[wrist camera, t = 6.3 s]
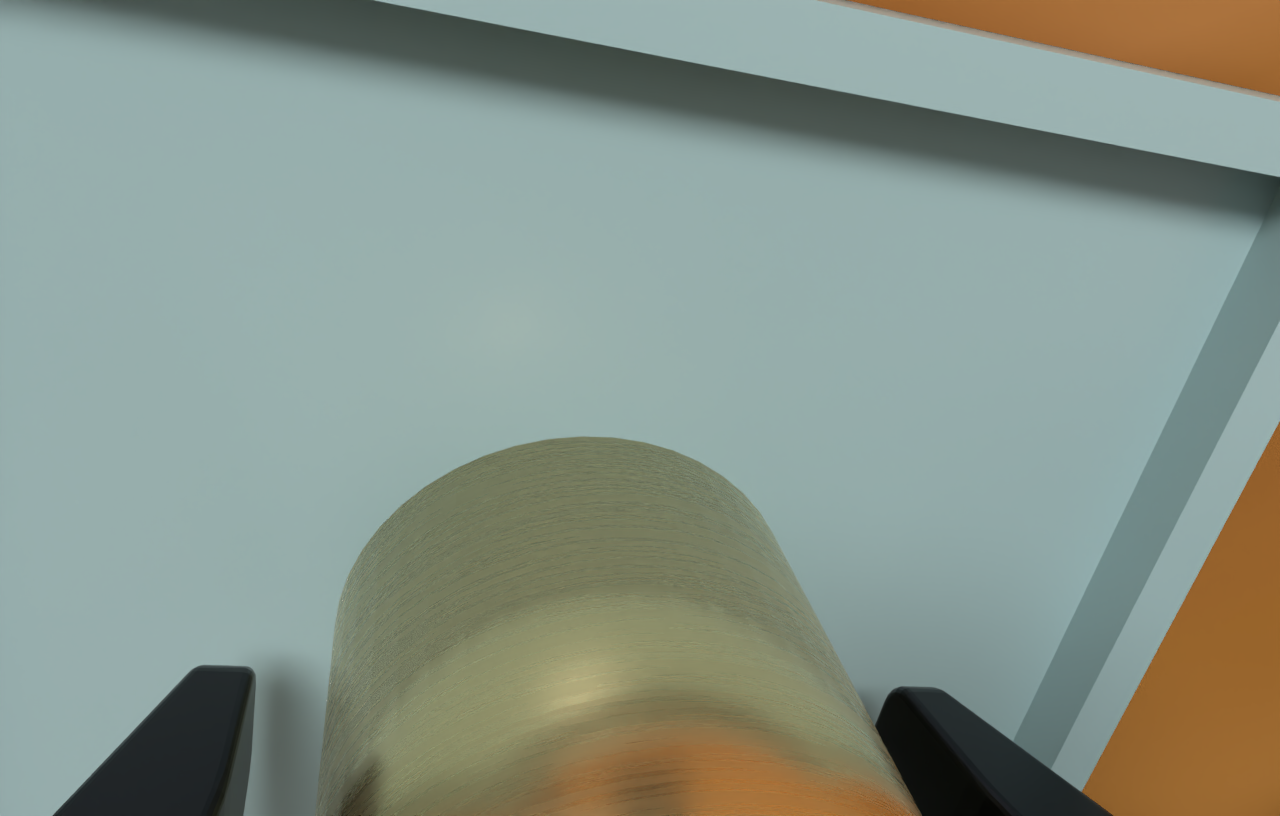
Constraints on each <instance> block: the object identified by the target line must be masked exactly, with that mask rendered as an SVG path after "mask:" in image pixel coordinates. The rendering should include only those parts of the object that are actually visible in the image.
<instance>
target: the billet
mask: <svg viewBox="0 0 1280 816" xmlns="http://www.w3.org/2000/svg"><path fill="white" fill-rule="evenodd" d="M315 816H922V815H921V813H920V811H919V809H918V807H917V805H916V803H915V801H914V799H913V798H912V796H911V794H910V792H909V790H908V788H907V786H906V784H905V782H904V781H903V779H902V777H901V775H900V773H899V771H898V769H897V767H896V765H895V763H894V762H893V760H892V758H891V756H890V754H889V752H888V750H887V748H886V746H885V745H884V743H883V741H882V739H881V737H880V735H879V733H878V731H877V729H876V728H875V726H874V724H873V722H872V720H871V718H870V716H869V714H868V712H867V710H866V709H865V707H864V705H863V703H862V701H861V699H860V697H859V695H858V693H857V692H856V690H855V688H854V686H853V684H852V682H851V680H850V678H849V676H848V674H847V673H846V671H845V669H844V667H843V665H842V663H841V661H840V659H839V657H838V656H837V654H836V652H835V650H834V648H833V646H832V644H831V642H830V640H829V639H828V637H827V635H826V633H825V631H824V629H823V627H822V625H821V623H820V621H819V620H818V618H817V616H816V614H815V612H814V610H813V608H812V606H811V604H810V603H809V601H808V599H807V597H806V595H805V593H804V591H803V589H802V587H801V586H800V584H799V582H798V580H797V578H796V576H795V574H794V572H793V570H792V568H791V567H790V565H789V563H788V561H787V559H786V557H785V555H784V553H783V551H782V550H781V548H780V546H779V544H778V542H777V540H776V538H775V536H774V534H773V533H772V531H771V529H770V528H769V526H768V524H767V523H766V521H765V520H764V518H763V516H762V515H761V513H760V512H759V510H758V509H757V508H756V507H755V506H754V505H753V504H752V502H751V501H750V500H749V499H748V498H747V497H746V496H745V494H744V493H743V492H741V491H740V490H739V489H738V488H737V487H735V486H734V485H733V484H732V483H731V482H730V481H728V480H727V479H726V478H725V477H724V476H722V475H720V474H719V473H717V472H715V471H714V470H712V469H711V468H709V467H707V466H706V465H704V464H702V463H701V462H699V461H696V460H694V459H692V458H690V457H687V456H685V455H683V454H680V453H678V452H676V451H673V450H670V449H666V448H663V447H659V446H656V445H652V444H649V443H645V442H639V441H633V440H626V439H620V438H613V437H583V436H581V437H569V438H556V439H547V440H542V441H537V442H532V443H527V444H521V445H516V446H513V447H510V448H507V449H504V450H501V451H497V452H494V453H491V454H488V455H485V456H482V457H480V458H478V459H476V460H473V461H471V462H469V463H467V464H465V465H462V466H460V467H458V468H456V469H454V470H452V471H450V472H448V473H447V474H445V475H443V476H442V477H440V478H438V479H437V480H435V481H433V482H432V483H430V484H428V485H427V486H425V487H424V488H423V489H421V490H420V491H419V492H418V493H416V494H415V495H414V496H412V497H411V498H410V499H409V500H407V501H406V502H405V503H403V504H402V505H401V506H400V507H399V508H398V509H397V510H396V511H395V512H394V513H393V514H392V515H391V516H390V517H389V518H388V519H387V520H386V521H385V522H384V523H383V524H382V525H381V526H380V527H379V528H378V530H377V531H376V532H375V534H374V535H373V536H372V538H371V539H370V540H369V542H368V543H367V544H366V546H365V547H364V548H363V549H362V551H361V553H360V555H359V557H358V558H357V560H356V562H355V564H354V566H353V567H352V569H351V571H350V573H349V575H348V578H347V580H346V583H345V586H344V589H343V591H342V594H341V597H340V600H339V605H338V610H337V616H336V621H335V628H334V637H333V647H332V656H331V666H330V676H329V685H328V695H327V704H326V714H325V723H324V733H323V742H322V752H321V762H320V771H319V781H318V790H317V800H316V809H315Z"/></svg>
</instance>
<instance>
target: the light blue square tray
mask: <svg viewBox="0 0 1280 816" xmlns="http://www.w3.org/2000/svg"><path fill="white" fill-rule="evenodd" d="M1279 421H1280V96H1278V95H1273V94H1269V93H1264V92H1259V91H1255V90H1250V89H1246V88H1241V87H1237V86H1232V85H1228V84H1223V83H1219V82H1214V81H1210V80H1205V79H1201V78H1196V77H1191V76H1187V75H1182V74H1178V73H1173V72H1169V71H1164V70H1160V69H1155V68H1151V67H1146V66H1142V65H1137V64H1133V63H1128V62H1123V61H1119V60H1114V59H1110V58H1105V57H1101V56H1096V55H1092V54H1087V53H1083V52H1078V51H1074V50H1069V49H1065V48H1060V47H1055V46H1051V45H1046V44H1042V43H1037V42H1033V41H1028V40H1024V39H1019V38H1015V37H1010V36H1006V35H1001V34H997V33H992V32H987V31H983V30H978V29H974V28H969V27H965V26H960V25H956V24H951V23H947V22H942V21H938V20H933V19H929V18H924V17H919V16H915V15H910V14H906V13H901V12H897V11H892V10H888V9H883V8H879V7H874V6H870V5H865V4H861V3H856V2H851V1H847V0H0V816H52V815H53V814H54V813H55V812H56V811H57V810H58V809H59V808H60V807H61V806H62V805H63V804H64V803H65V802H66V801H67V800H68V799H69V798H70V797H71V795H72V794H73V793H74V792H75V791H76V790H77V789H78V788H79V787H80V786H81V785H82V784H83V783H84V782H85V781H86V780H87V779H88V778H89V777H90V776H91V774H92V773H93V772H94V771H95V770H96V769H97V768H98V767H99V766H100V765H101V764H102V763H103V762H104V761H105V760H106V759H107V758H108V757H109V756H110V754H111V753H112V752H113V751H114V750H115V749H116V748H117V747H118V746H119V745H120V744H121V743H122V742H123V741H124V740H125V739H126V738H127V737H128V736H129V735H130V733H131V732H132V731H133V730H134V729H135V728H136V727H137V726H138V725H139V724H140V723H141V722H142V721H143V720H144V719H145V718H146V717H147V716H148V715H149V713H150V712H151V711H152V710H153V709H154V708H155V707H156V706H157V705H158V704H159V703H160V702H161V701H162V700H163V699H164V698H165V697H166V696H167V695H168V694H169V692H170V691H171V690H172V689H173V688H174V687H175V686H176V685H177V684H178V683H179V682H180V681H181V680H182V679H183V678H184V677H185V676H186V675H187V674H188V673H189V672H190V671H191V670H192V669H193V668H195V667H197V666H200V665H231V666H248V667H250V668H252V669H253V671H254V672H255V675H256V690H255V707H254V723H253V740H252V755H251V765H250V773H249V781H248V788H247V794H246V801H245V808H244V814H243V816H315V809H316V800H317V790H318V781H319V771H320V762H321V752H322V742H323V733H324V723H325V714H326V704H327V695H328V685H329V676H330V666H331V656H332V647H333V637H334V628H335V621H336V616H337V610H338V605H339V600H340V597H341V594H342V591H343V589H344V586H345V583H346V580H347V578H348V575H349V573H350V571H351V569H352V567H353V566H354V564H355V562H356V560H357V558H358V557H359V555H360V553H361V551H362V549H363V548H364V547H365V546H366V544H367V543H368V542H369V540H370V539H371V538H372V536H373V535H374V534H375V532H376V531H377V530H378V528H379V527H380V526H381V525H382V524H383V523H384V522H385V521H386V520H387V519H388V518H389V517H390V516H391V515H392V514H393V513H394V512H395V511H396V510H397V509H398V508H399V507H400V506H401V505H402V504H403V503H405V502H406V501H407V500H409V499H410V498H411V497H412V496H414V495H415V494H416V493H418V492H419V491H420V490H421V489H423V488H424V487H425V486H427V485H428V484H430V483H432V482H433V481H435V480H437V479H438V478H440V477H442V476H443V475H445V474H447V473H448V472H450V471H452V470H454V469H456V468H458V467H460V466H462V465H465V464H467V463H469V462H471V461H473V460H476V459H478V458H480V457H482V456H485V455H488V454H491V453H494V452H497V451H501V450H504V449H507V448H510V447H513V446H516V445H521V444H527V443H532V442H537V441H542V440H547V439H556V438H569V437H581V436H583V437H613V438H620V439H626V440H633V441H639V442H645V443H649V444H652V445H656V446H659V447H663V448H666V449H670V450H673V451H676V452H678V453H680V454H683V455H685V456H687V457H690V458H692V459H694V460H696V461H699V462H701V463H702V464H704V465H706V466H707V467H709V468H711V469H712V470H714V471H715V472H717V473H719V474H720V475H722V476H724V477H725V478H726V479H727V480H728V481H730V482H731V483H732V484H733V485H734V486H735V487H737V488H738V489H739V490H740V491H741V492H743V493H744V494H745V496H746V497H747V498H748V499H749V500H750V501H751V502H752V504H753V505H754V506H755V507H756V508H757V509H758V510H759V512H760V513H761V515H762V516H763V518H764V520H765V521H766V523H767V524H768V526H769V528H770V529H771V531H772V533H773V534H774V536H775V538H776V540H777V542H778V544H779V546H780V548H781V550H782V551H783V553H784V555H785V557H786V559H787V561H788V563H789V565H790V567H791V568H792V570H793V572H794V574H795V576H796V578H797V580H798V582H799V584H800V586H801V587H802V589H803V591H804V593H805V595H806V597H807V599H808V601H809V603H810V604H811V606H812V608H813V610H814V612H815V614H816V616H817V618H818V620H819V621H820V623H821V625H822V627H823V629H824V631H825V633H826V635H827V637H828V639H829V640H830V642H831V644H832V646H833V648H834V650H835V652H836V654H837V656H838V657H839V659H840V661H841V663H842V665H843V667H844V669H845V671H846V673H847V674H848V676H849V678H850V680H851V682H852V684H853V686H854V688H855V690H856V692H857V693H858V695H859V697H860V699H861V701H862V703H863V705H864V707H865V709H866V710H867V712H868V714H869V716H870V718H871V720H872V722H873V724H874V726H875V724H876V721H877V719H878V716H879V714H880V711H881V709H882V706H883V704H884V701H885V699H886V697H887V695H888V694H889V693H890V692H891V691H892V690H893V689H894V688H897V687H900V686H914V687H934V688H939V689H941V690H943V691H945V692H946V693H948V694H949V695H951V696H952V697H953V698H955V699H956V700H957V701H959V702H960V703H961V704H963V705H964V706H965V707H967V708H968V709H969V710H971V711H972V712H974V713H975V714H976V715H978V716H979V717H980V718H982V719H983V720H984V721H986V722H987V723H988V724H990V725H991V726H993V727H994V728H995V729H997V730H998V731H999V732H1001V733H1002V734H1003V735H1005V736H1006V737H1007V738H1009V739H1010V740H1012V741H1013V742H1014V743H1016V744H1017V745H1018V746H1020V747H1021V748H1022V749H1024V750H1025V751H1026V752H1028V753H1029V754H1031V755H1032V756H1033V757H1035V758H1036V759H1037V760H1039V761H1040V762H1041V763H1043V764H1044V765H1045V766H1047V767H1048V768H1050V769H1051V770H1052V771H1054V772H1055V773H1056V774H1058V775H1059V776H1060V777H1062V778H1063V779H1064V780H1066V781H1067V782H1069V783H1070V784H1071V785H1073V786H1074V787H1075V788H1077V789H1078V790H1079V791H1081V792H1082V790H1083V788H1084V786H1085V784H1086V782H1087V780H1088V779H1089V777H1090V775H1091V773H1092V771H1093V769H1094V767H1095V766H1096V764H1097V762H1098V760H1099V758H1100V756H1101V754H1102V752H1103V751H1104V749H1105V747H1106V745H1107V743H1108V741H1109V739H1110V737H1111V736H1112V734H1113V732H1114V730H1115V728H1116V726H1117V724H1118V722H1119V721H1120V719H1121V717H1122V715H1123V713H1124V711H1125V709H1126V708H1127V706H1128V704H1129V702H1130V700H1131V698H1132V696H1133V694H1134V693H1135V691H1136V689H1137V687H1138V685H1139V683H1140V681H1141V679H1142V678H1143V676H1144V674H1145V672H1146V670H1147V668H1148V666H1149V664H1150V663H1151V661H1152V659H1153V657H1154V655H1155V653H1156V651H1157V649H1158V648H1159V646H1160V644H1161V642H1162V640H1163V638H1164V636H1165V635H1166V633H1167V631H1168V629H1169V627H1170V625H1171V623H1172V621H1173V620H1174V618H1175V616H1176V614H1177V612H1178V610H1179V608H1180V606H1181V605H1182V603H1183V601H1184V599H1185V597H1186V595H1187V593H1188V591H1189V590H1190V588H1191V586H1192V584H1193V582H1194V580H1195V578H1196V577H1197V575H1198V573H1199V571H1200V569H1201V567H1202V565H1203V563H1204V562H1205V560H1206V558H1207V556H1208V554H1209V552H1210V550H1211V548H1212V547H1213V545H1214V543H1215V541H1216V539H1217V537H1218V535H1219V533H1220V532H1221V530H1222V528H1223V526H1224V524H1225V522H1226V520H1227V518H1228V517H1229V515H1230V513H1231V511H1232V509H1233V507H1234V505H1235V504H1236V502H1237V500H1238V498H1239V496H1240V494H1241V492H1242V490H1243V489H1244V487H1245V485H1246V483H1247V481H1248V479H1249V477H1250V475H1251V474H1252V472H1253V470H1254V468H1255V466H1256V464H1257V462H1258V460H1259V459H1260V457H1261V455H1262V453H1263V451H1264V449H1265V447H1266V445H1267V444H1268V442H1269V440H1270V438H1271V436H1272V434H1273V432H1274V431H1275V429H1276V427H1277V425H1278V423H1279Z"/></svg>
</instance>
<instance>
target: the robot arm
mask: <svg viewBox="0 0 1280 816" xmlns="http://www.w3.org/2000/svg"><path fill="white" fill-rule="evenodd" d="M255 690H256V675H255V672H254V671H253V669H252V668H250V667H248V666H231V665H200V666H197V667H195V668H193V669H192V670H191V671H190V672H189V673H188V674H187V675H186V676H185V677H184V678H183V679H182V680H181V681H180V682H179V683H178V684H177V685H176V686H175V687H174V688H173V689H172V690H171V691H170V692H169V694H168V695H167V696H166V697H165V698H164V699H163V700H162V701H161V702H160V703H159V704H158V705H157V706H156V707H155V708H154V709H153V710H152V711H151V712H150V713H149V715H148V716H147V717H146V718H145V719H144V720H143V721H142V722H141V723H140V724H139V725H138V726H137V727H136V728H135V729H134V730H133V731H132V732H131V733H130V735H129V736H128V737H127V738H126V739H125V740H124V741H123V742H122V743H121V744H120V745H119V746H118V747H117V748H116V749H115V750H114V751H113V752H112V753H111V754H110V756H109V757H108V758H107V759H106V760H105V761H104V762H103V763H102V764H101V765H100V766H99V767H98V768H97V769H96V770H95V771H94V772H93V773H92V774H91V776H90V777H89V778H88V779H87V780H86V781H85V782H84V783H83V784H82V785H81V786H80V787H79V788H78V789H77V790H76V791H75V792H74V793H73V794H72V795H71V797H70V798H69V799H68V800H67V801H66V802H65V803H64V804H63V805H62V806H61V807H60V808H59V809H58V810H57V811H56V812H55V813H54V814H53V815H52V816H243V814H244V808H245V801H246V794H247V788H248V781H249V773H250V765H251V755H252V740H253V723H254V707H255ZM875 728H876V729H877V731H878V733H879V735H880V737H881V739H882V741H883V743H884V745H885V746H886V748H887V750H888V752H889V754H890V756H891V758H892V760H893V762H894V763H895V765H896V767H897V769H898V771H899V773H900V775H901V777H902V779H903V781H904V782H905V784H906V786H907V788H908V790H909V792H910V794H911V796H912V798H913V799H914V801H915V803H916V805H917V807H918V809H919V811H920V813H921V815H922V816H1113V815H1112V814H1111V813H1109V812H1108V811H1107V810H1105V809H1104V808H1102V807H1101V806H1100V805H1098V804H1097V803H1096V802H1094V801H1093V800H1092V799H1090V798H1089V797H1088V796H1086V795H1085V794H1083V793H1082V792H1081V791H1079V790H1078V789H1077V788H1075V787H1074V786H1073V785H1071V784H1070V783H1069V782H1067V781H1066V780H1064V779H1063V778H1062V777H1060V776H1059V775H1058V774H1056V773H1055V772H1054V771H1052V770H1051V769H1050V768H1048V767H1047V766H1045V765H1044V764H1043V763H1041V762H1040V761H1039V760H1037V759H1036V758H1035V757H1033V756H1032V755H1031V754H1029V753H1028V752H1026V751H1025V750H1024V749H1022V748H1021V747H1020V746H1018V745H1017V744H1016V743H1014V742H1013V741H1012V740H1010V739H1009V738H1007V737H1006V736H1005V735H1003V734H1002V733H1001V732H999V731H998V730H997V729H995V728H994V727H993V726H991V725H990V724H988V723H987V722H986V721H984V720H983V719H982V718H980V717H979V716H978V715H976V714H975V713H974V712H972V711H971V710H969V709H968V708H967V707H965V706H964V705H963V704H961V703H960V702H959V701H957V700H956V699H955V698H953V697H952V696H951V695H949V694H948V693H946V692H945V691H943V690H941V689H939V688H934V687H914V686H900V687H897V688H894V689H893V690H892V691H891V692H890V693H889V694H888V695H887V697H886V699H885V701H884V704H883V706H882V709H881V711H880V714H879V716H878V719H877V721H876V724H875Z"/></svg>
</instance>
